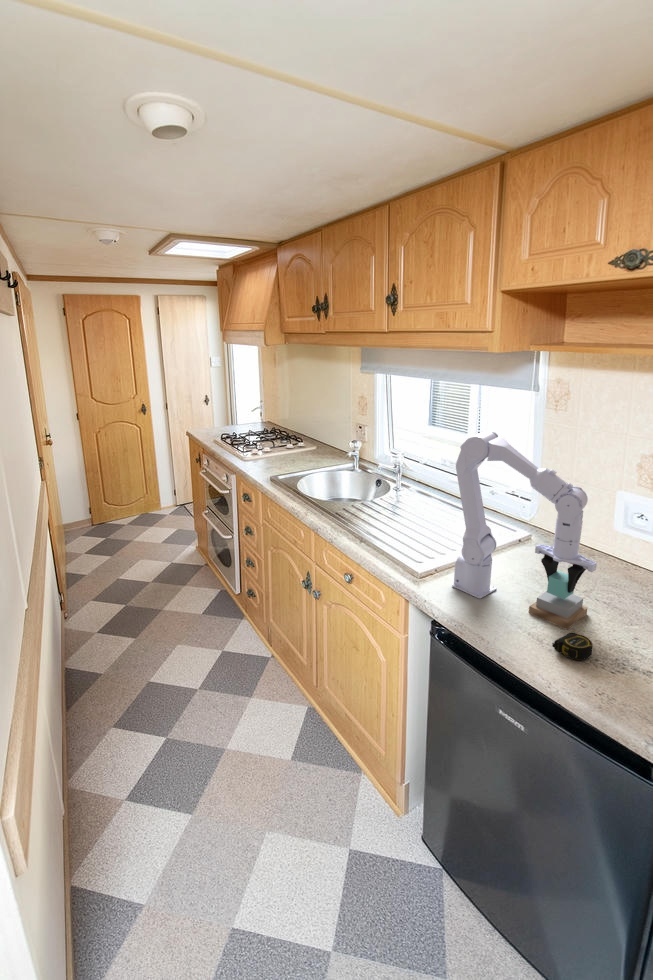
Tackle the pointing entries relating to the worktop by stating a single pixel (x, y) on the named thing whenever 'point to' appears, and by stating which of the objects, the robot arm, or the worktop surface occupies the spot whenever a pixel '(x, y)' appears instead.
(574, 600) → the tower top block
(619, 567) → the worktop surface
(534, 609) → the tower base block
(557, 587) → the teal cube
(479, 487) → the robot arm
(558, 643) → the tape measure
